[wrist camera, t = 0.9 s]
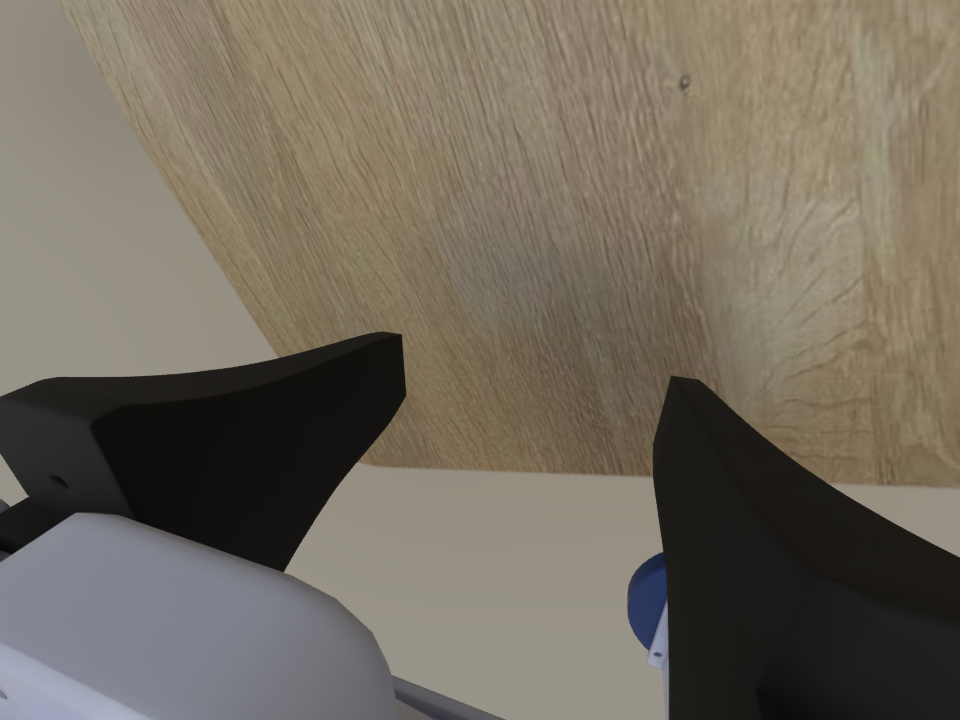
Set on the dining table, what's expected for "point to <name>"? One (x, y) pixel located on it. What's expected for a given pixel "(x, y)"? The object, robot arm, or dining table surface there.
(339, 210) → the dining table surface
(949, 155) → the dining table surface
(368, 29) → the dining table surface
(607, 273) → the dining table surface
